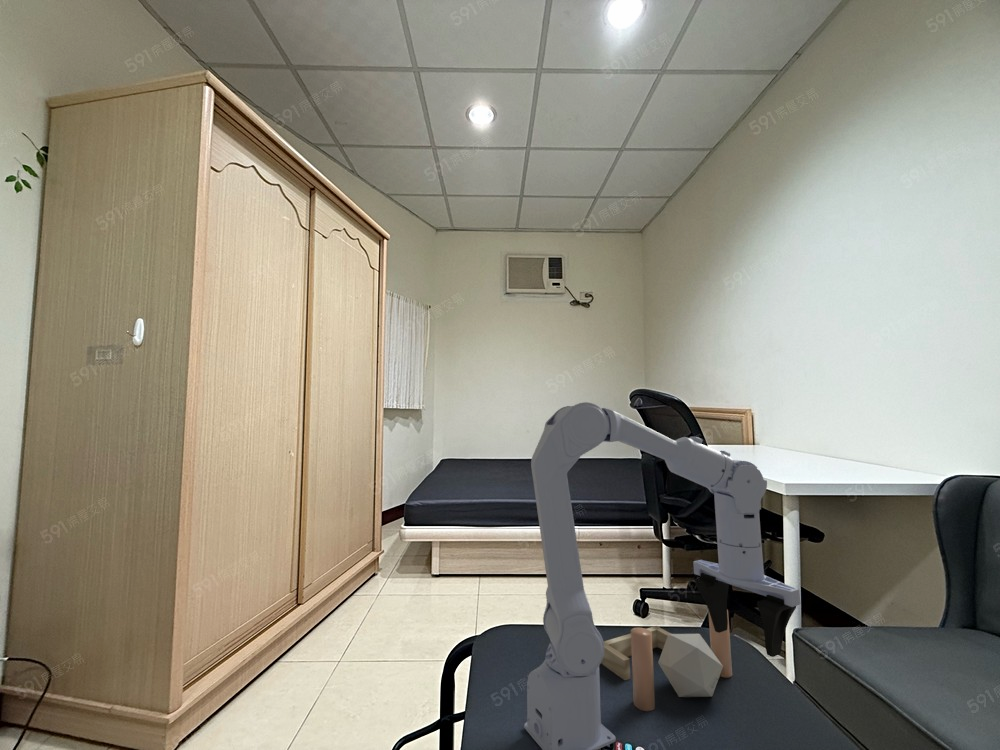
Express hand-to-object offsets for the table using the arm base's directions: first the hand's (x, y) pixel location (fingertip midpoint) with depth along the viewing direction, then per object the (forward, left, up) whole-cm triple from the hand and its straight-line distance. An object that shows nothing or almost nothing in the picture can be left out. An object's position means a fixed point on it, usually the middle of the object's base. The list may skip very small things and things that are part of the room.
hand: (746, 641), depth 60 cm
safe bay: (-2, +19, -10) cm, 21 cm away
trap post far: (+7, +10, -10) cm, 16 cm away
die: (-2, +9, -11) cm, 14 cm away
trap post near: (-11, +10, -10) cm, 18 cm away
